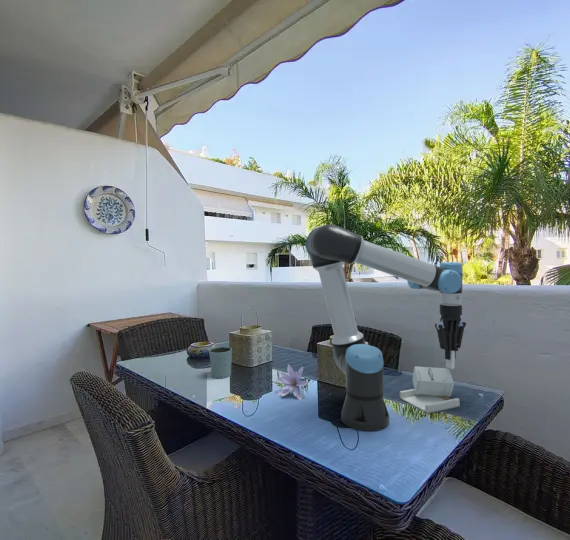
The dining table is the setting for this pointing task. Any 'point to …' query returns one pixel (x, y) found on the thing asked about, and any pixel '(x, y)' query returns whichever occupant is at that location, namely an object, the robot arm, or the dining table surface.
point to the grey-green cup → (220, 362)
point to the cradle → (428, 401)
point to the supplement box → (433, 381)
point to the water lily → (291, 382)
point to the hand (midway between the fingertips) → (450, 367)
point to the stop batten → (445, 397)
